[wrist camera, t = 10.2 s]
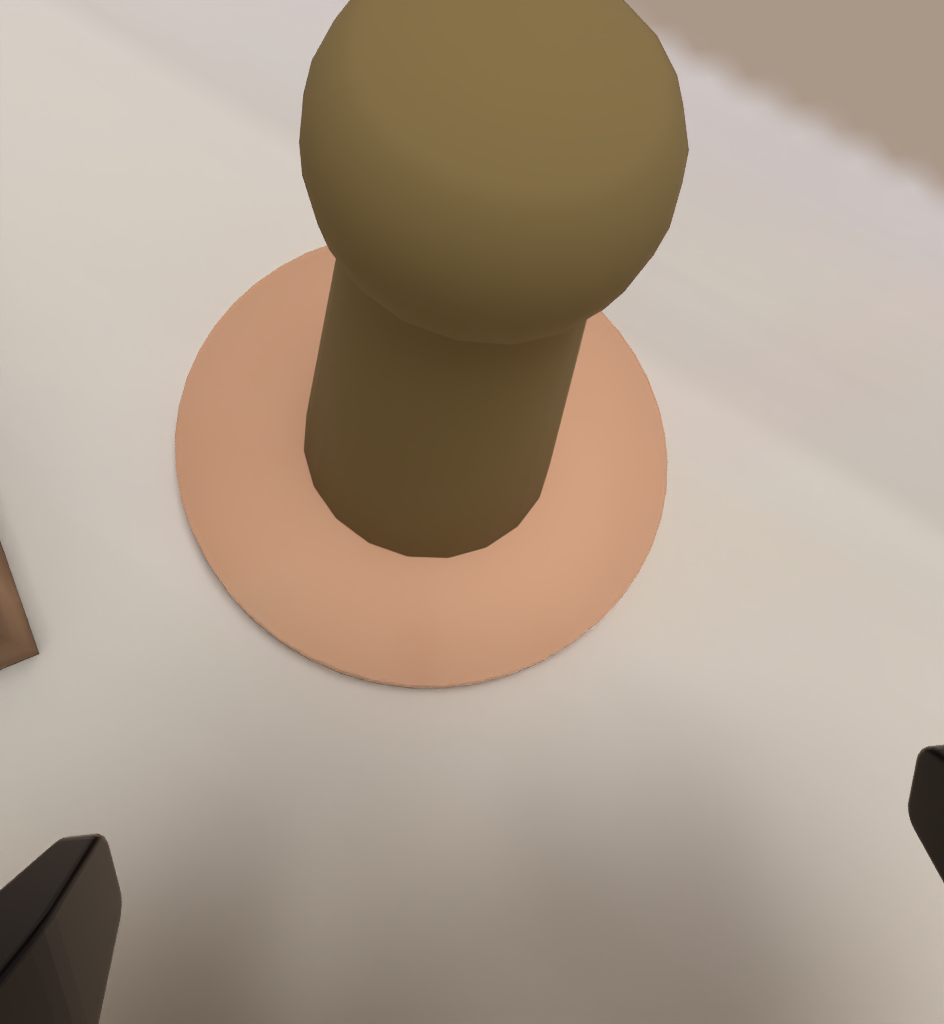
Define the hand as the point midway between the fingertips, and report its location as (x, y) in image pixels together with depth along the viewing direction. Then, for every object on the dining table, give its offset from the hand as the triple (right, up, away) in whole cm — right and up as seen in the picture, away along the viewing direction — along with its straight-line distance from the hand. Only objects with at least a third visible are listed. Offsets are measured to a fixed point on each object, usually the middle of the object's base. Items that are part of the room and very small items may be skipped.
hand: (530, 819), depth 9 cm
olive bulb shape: (-2, +5, +11) cm, 12 cm away
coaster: (-2, +5, +12) cm, 13 cm away
